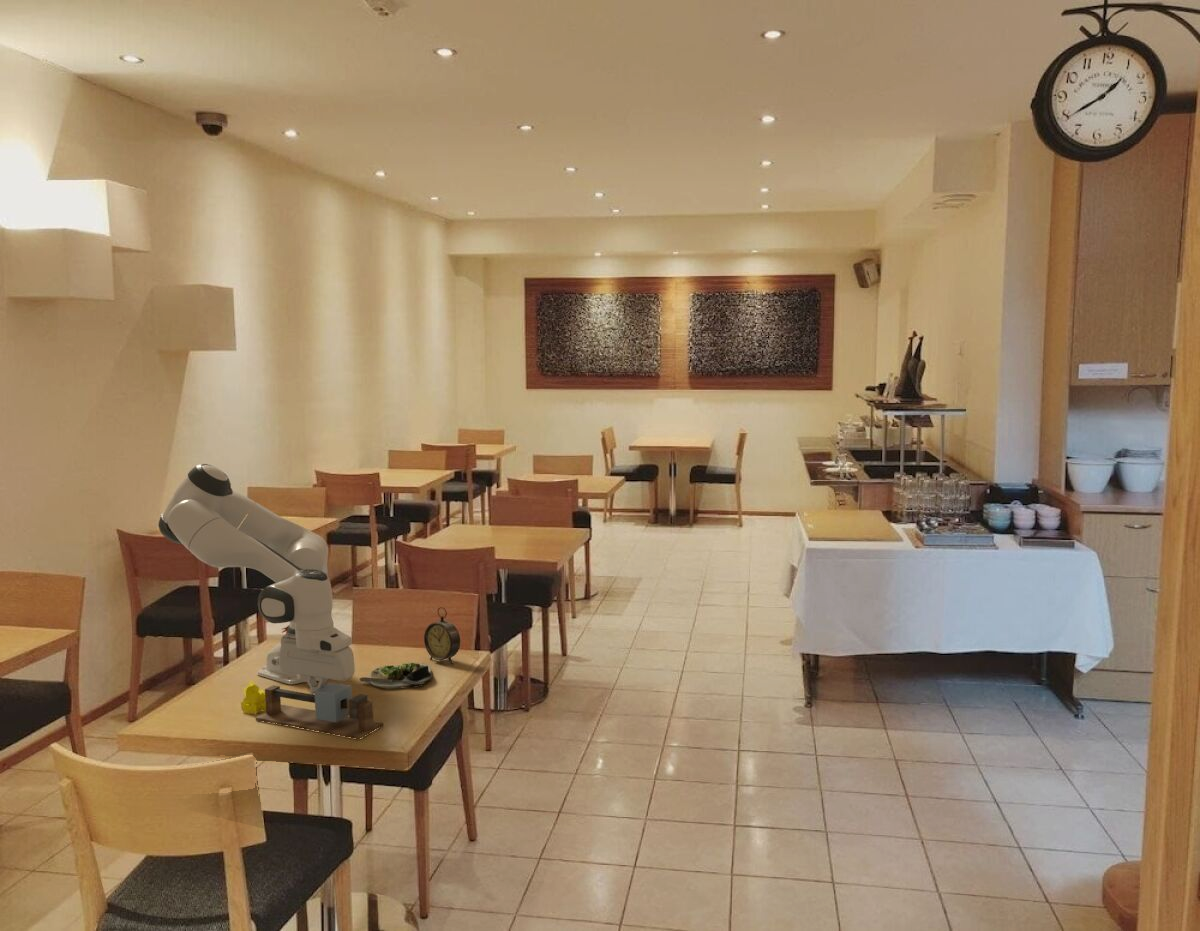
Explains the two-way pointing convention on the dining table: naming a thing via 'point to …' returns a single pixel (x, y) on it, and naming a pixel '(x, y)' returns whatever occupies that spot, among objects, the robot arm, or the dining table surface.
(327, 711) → the sleeve
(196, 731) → the dining table surface
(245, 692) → the crumpled paper
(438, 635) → the alarm clock
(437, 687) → the dining table surface
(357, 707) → the rail rig
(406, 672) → the salad plate
